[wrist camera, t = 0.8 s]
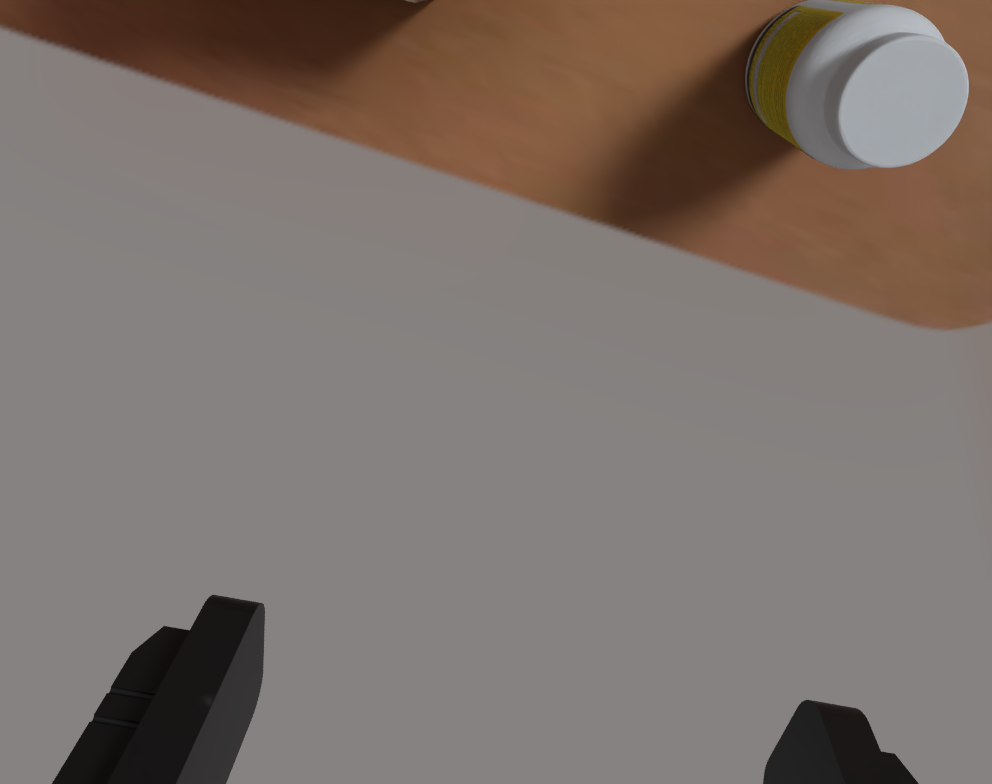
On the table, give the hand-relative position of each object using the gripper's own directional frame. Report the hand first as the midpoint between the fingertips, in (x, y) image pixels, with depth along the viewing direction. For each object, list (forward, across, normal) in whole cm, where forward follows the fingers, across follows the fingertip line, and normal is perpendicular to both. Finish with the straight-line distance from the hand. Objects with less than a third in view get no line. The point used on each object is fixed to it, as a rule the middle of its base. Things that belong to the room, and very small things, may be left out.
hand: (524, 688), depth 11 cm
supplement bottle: (+28, -10, -7) cm, 31 cm away
